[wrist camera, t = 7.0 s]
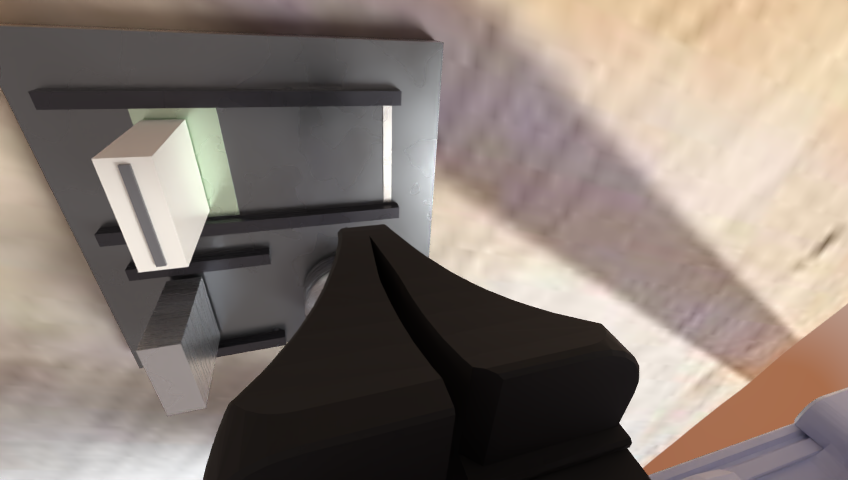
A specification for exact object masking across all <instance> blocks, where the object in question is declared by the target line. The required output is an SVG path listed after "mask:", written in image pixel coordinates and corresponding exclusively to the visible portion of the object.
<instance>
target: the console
mask: <svg viewBox="0 0 848 480" xmlns="http://www.w3.org/2000/svg"><path fill="white" fill-rule="evenodd" d="M443 45H444V42H440V41H436V40H414V39H388V38H362V37H337V36H311V35H285V34H259V33H233V32H207V31H181V30H155V29H129V28H103V27H77V26H51V25H26V24H0V87H1V89H2V91H3V93H4V95H5V97H6V99H7V101H8V103H9V105H10V107H11V109H12V111H13V113H14V115H15V117H16V119H17V121H18V123H19V125H20V127H21V129H22V131H23V133H24V135H25V137H26V139H27V141H28V143H29V145H30V147H31V149H32V151H33V153H34V155H35V157H36V159H37V161H38V163H39V165H40V167H41V169H42V171H43V173H44V175H45V178H46V180H47V182H48V184H49V186H50V188H51V190H52V192H53V194H54V196H55V198H56V200H57V202H58V204H59V206H60V208H61V210H62V212H63V214H64V216H65V218H66V220H67V222H68V224H69V226H70V228H71V230H72V232H73V234H74V236H75V238H76V240H77V242H78V244H79V246H80V248H81V250H82V252H83V254H84V256H85V258H86V260H87V262H88V264H89V266H90V268H91V271H92V273H93V275H94V277H95V279H96V281H97V283H98V285H99V287H100V289H101V291H102V293H103V295H104V297H105V299H106V301H107V303H108V305H109V307H110V309H111V311H112V313H113V315H114V317H115V319H116V321H117V323H118V325H119V327H120V329H121V331H122V333H123V335H124V337H125V339H126V341H127V343H128V345H129V347H130V349H131V351H132V353H133V355H134V357H135V359H136V361H137V364H138V366H139V368H143V367H144V369H145V371H146V373H147V375H148V377H149V379H150V381H151V383H152V385H153V387H154V389H155V391H156V393H157V396H158V398H159V400H160V402H161V404H162V406H163V408H164V410H165V412H166V414H167V416H170V415H175V414H180V413H185V412H189V411H194V410H199V409H204V408H206V405H207V401H208V396H209V391H210V386H211V381H212V376H213V371H214V366H215V361H216V357H220V356H226V355H232V354H237V353H243V352H248V351H254V350H260V349H265V348H271V347H277V346H282V345H286V344H287V342H289V341H290V339H291V338H292V337H293V336H294V334H295V333H296V332H297V330H298V329H299V327H300V326H301V324H302V323H303V321H304V320H305V318H306V317H307V315H308V314H309V312H310V311H311V309H312V307H313V306H314V304H315V302H316V300H317V299H318V297H319V295H320V293H321V291H322V289H323V287H324V284H325V282H326V280H327V277H328V275H329V273H330V270H331V267H332V264H333V261H334V258H335V255H336V251H337V246H338V233H337V232H338V231H339V230H340V229H341V228H350V227H360V226H370V225H380V224H385V225H386V226H388V227H389V228H390V229H391V230H393V231H394V232H395V233H396V234H398V235H399V236H400V237H401V238H403V239H404V240H405V241H406V242H408V243H409V244H410V245H412V246H413V247H414V248H416V249H417V250H418V251H420V252H421V253H422V254H424V255H425V256H427V257H428V258H429V248H430V234H431V219H432V205H433V190H434V176H435V161H436V147H437V132H438V118H439V103H440V88H441V74H442V59H443ZM166 119H185V120H186V124H187V128H188V131H189V135H190V139H191V143H192V146H193V150H194V154H195V157H196V161H197V165H198V169H199V172H200V176H201V180H202V183H203V187H204V191H205V195H206V198H207V202H208V206H209V209H210V211H209V214H208V216H207V219H206V222H205V224H204V227H203V229H202V232H201V235H200V237H199V240H198V243H197V245H196V248H195V251H194V253H193V256H192V259H191V261H190V264H189V267H182V268H174V269H165V270H156V271H148V272H138V270H137V267H136V265H135V263H134V260H133V258H132V255H131V253H130V251H129V248H128V246H127V243H126V241H125V239H124V236H123V234H122V231H121V229H120V227H119V224H118V222H117V219H116V217H115V215H114V212H113V210H112V207H111V205H110V203H109V200H108V198H107V195H106V193H105V191H104V188H103V186H102V183H101V181H100V179H99V176H98V174H97V171H96V169H95V167H94V164H93V162H92V158H93V157H94V156H96V155H97V154H98V153H99V152H101V151H102V150H103V149H105V148H106V147H107V146H108V145H110V144H111V143H112V142H113V141H115V140H116V139H117V138H119V137H120V136H121V135H122V134H124V133H125V132H126V131H127V130H129V129H130V128H131V127H133V126H134V125H135V124H136V123H138V122H139V121H140V120H166Z"/></svg>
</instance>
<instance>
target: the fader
mask: <svg viewBox="0 0 848 480" xmlns="http://www.w3.org/2000/svg"><path fill="white" fill-rule="evenodd" d="M92 162H93V164H94V167H95V169H96V171H97V174H98V176H99V179H100V181H101V183H102V186H103V188H104V191H105V193H106V195H107V198H108V200H109V203H110V205H111V207H112V210H113V212H114V215H115V217H116V219H117V222H118V224H119V227H120V229H121V231H122V234H123V236H124V239H125V241H126V243H127V246H128V248H129V251H130V253H131V255H132V258H133V260H134V263H135V265H136V267H137V270H138V272H148V271H156V270H165V269H174V268H182V267H189V264H190V261H191V259H192V256H193V253H194V251H195V248H196V245H197V243H198V240H199V237H200V235H201V232H202V229H203V227H204V224H205V222H206V219H207V216H208V214H209V211H210V209H209V206H208V202H207V198H206V195H205V191H204V187H203V183H202V180H201V176H200V172H199V169H198V165H197V161H196V157H195V154H194V150H193V146H192V143H191V139H190V135H189V131H188V128H187V124H186V120H185V119H166V120H140V121H139V122H138V123H136V124H135V125H134V126H133V127H131V128H130V129H129V130H127V131H126V132H125V133H124V134H122V135H121V136H120V137H119V138H117V139H116V140H115V141H113V142H112V143H111V144H110V145H108V146H107V147H106V148H105V149H103V150H102V151H101V152H99V153H98V154H97V155H96V156H94V157H93V158H92Z"/></svg>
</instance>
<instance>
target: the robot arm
mask: <svg viewBox="0 0 848 480" xmlns="http://www.w3.org/2000/svg"><path fill="white" fill-rule="evenodd" d="M337 233H338V246H337V251H336V255H335V258H334V261H333V264H332V267H331V270H330V273H329V275H328V277H327V280H326V282H325V284H324V287H323V289H322V291H321V293H320V295H319V297H318V299H317V300H316V302H315V304H314V306H313V307H312V309H311V311H310V312H309V314H308V315H307V317H306V318H305V320H304V321H303V323H302V324H301V326H300V327H299V329H298V330H297V332H296V333H295V334H294V336H293V337H292V338H291V339H290V341H289V342H288V343H287V344H286V345H285V347H284V348H283V349H282V350H281V351H280V352H279V354H278V355H277V356H276V357H275V358H274V360H273V361H272V362H271V363H270V364H269V365H268V366H267V367H266V369H265V370H264V371H263V372H262V373H261V374H260V375H259V376H258V377H257V378H256V379H255V380H253V381H252V382H251V383H250V384H249V385H248V386H247V387H246V388H245V389H244V390H243V391H242V392H241V393H240V394H239V395H238V396H237V397H236V398H235V399H234V400H232V401H231V402H230V403H229V405H228V407H227V409H226V411H225V414H224V416H223V419H222V421H221V424H220V426H219V429H218V431H217V434H216V437H215V440H214V443H213V446H212V449H211V452H210V456H209V459H208V462H207V465H206V469H205V473H204V477H203V480H848V387H847V388H844V389H842V390H839V391H836V392H833V393H830V394H827V395H824V396H821V397H819V398H817V399H815V400H814V401H812V402H811V403H810V404H808V405H807V406H806V407H805V408H804V409H803V410H802V411H801V412H800V414H799V415H798V416H797V417H796V418H795V423H793V424H791V425H787V426H785V427H782V428H779V429H776V430H774V431H771V432H768V433H765V434H762V435H759V436H757V437H754V438H751V439H748V440H746V441H743V442H740V443H737V444H735V445H732V446H729V447H726V448H723V449H721V450H718V451H715V452H712V453H709V454H707V455H704V456H701V457H698V458H695V459H693V460H690V461H687V462H684V463H681V464H679V465H676V466H673V467H670V468H667V469H665V470H662V471H659V472H656V473H653V474H651V475H647V474H646V472H645V471H644V470H643V468H642V467H641V466H640V464H639V463H638V462H637V461H636V459H635V458H634V457H633V455H632V454H631V453H630V451H629V450H628V449H627V448H628V447H630V445H631V444H632V441H631V438H630V436H629V435H628V434H627V433H626V431H625V430H624V429H623V428H622V426H621V425H620V424H619V422H620V420H621V418H622V416H623V414H624V412H625V410H626V408H627V406H628V404H629V402H630V401H631V399H632V397H633V395H634V393H635V390H636V387H637V384H638V382H639V365H638V363H637V361H636V359H635V357H634V356H633V355H632V354H631V353H630V352H629V351H628V350H627V349H626V348H625V347H624V346H623V345H622V344H621V343H620V342H619V341H618V340H617V339H616V338H615V337H614V336H613V335H612V334H611V333H610V332H609V331H608V330H607V329H606V328H605V327H604V326H603V325H602V324H600V323H595V322H591V321H587V320H582V319H578V318H573V317H569V316H565V315H560V314H556V313H552V312H549V311H545V310H542V309H539V308H535V307H532V306H529V305H526V304H523V303H520V302H517V301H514V300H511V299H508V298H506V297H503V296H501V295H498V294H496V293H493V292H491V291H488V290H486V289H484V288H482V287H479V286H477V285H475V284H473V283H471V282H469V281H467V280H465V279H463V278H461V277H459V276H457V275H456V274H454V273H452V272H450V271H449V270H447V269H445V268H444V267H442V266H441V265H439V264H437V263H436V262H434V261H433V260H431V259H430V258H428V257H427V256H425V255H424V254H422V253H421V252H420V251H418V250H417V249H416V248H414V247H413V246H412V245H410V244H409V243H408V242H406V241H405V240H404V239H403V238H401V237H400V236H399V235H398V234H396V233H395V232H394V231H393V230H391V229H390V228H389V227H388V226H386V225H385V224H380V225H370V226H360V227H350V228H341V229H340V230H339V231H338V232H337Z"/></svg>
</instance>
